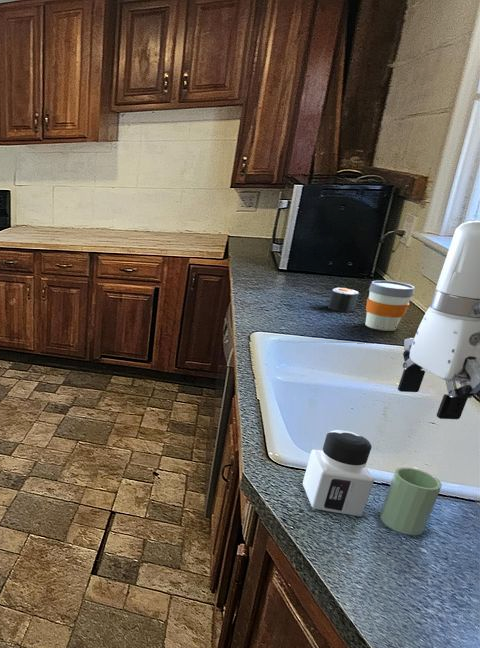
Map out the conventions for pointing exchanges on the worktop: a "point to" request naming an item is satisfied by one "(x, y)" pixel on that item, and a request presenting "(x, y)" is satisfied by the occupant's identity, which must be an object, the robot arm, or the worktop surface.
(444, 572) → the worktop surface
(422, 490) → the cup
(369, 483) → the container
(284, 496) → the worktop surface
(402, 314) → the reusable coffee cup
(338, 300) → the sushi
